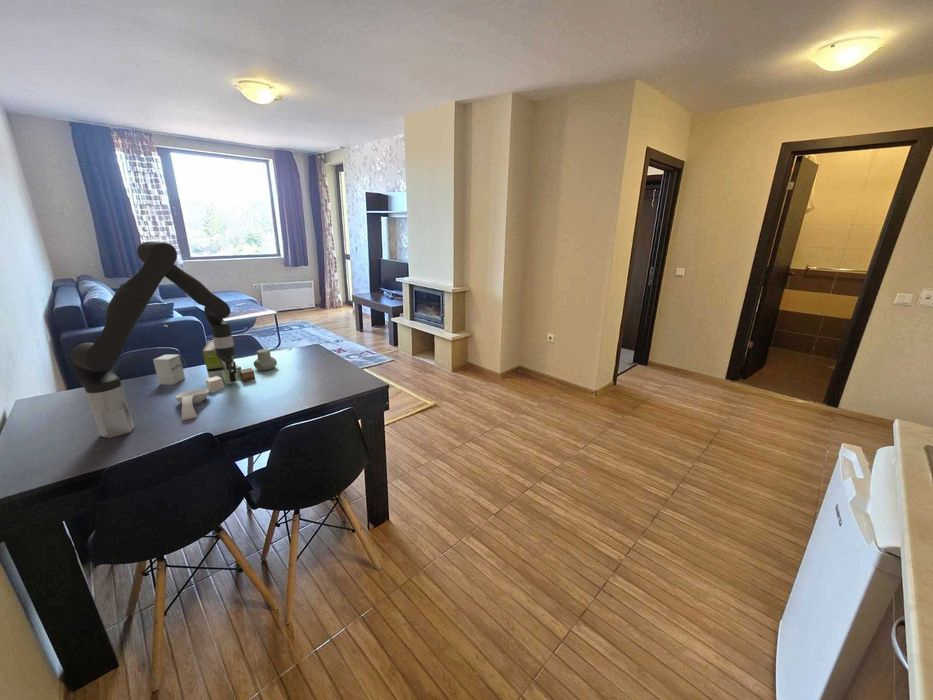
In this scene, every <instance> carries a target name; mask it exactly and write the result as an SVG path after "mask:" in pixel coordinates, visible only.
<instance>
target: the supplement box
mask: <svg viewBox="0 0 933 700" xmlns="http://www.w3.org/2000/svg"><path fill="white" fill-rule="evenodd" d="M152 361H153V365H154V368H155V373H156V376H157V380H158V384H159V385H169V386H171V385H176V384H178V383H179V382H181V381H183V380H185V379H186V377H185V373H184V368H183V364H182V360H181V356H180V354H163V355H161V356H158V357H156V358H153V359H152Z"/></svg>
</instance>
